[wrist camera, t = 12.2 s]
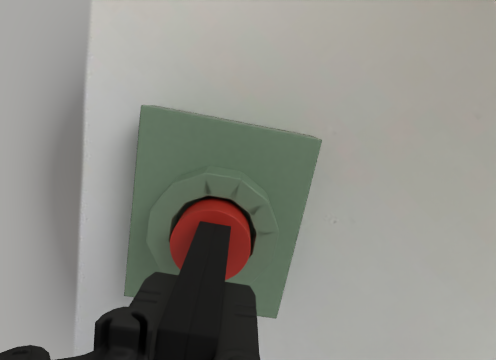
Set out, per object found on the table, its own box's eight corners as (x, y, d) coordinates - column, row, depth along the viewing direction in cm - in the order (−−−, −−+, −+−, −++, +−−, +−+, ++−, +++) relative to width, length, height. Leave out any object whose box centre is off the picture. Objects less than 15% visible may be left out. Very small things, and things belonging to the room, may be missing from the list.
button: (182, 192, 15) (174, 203, 13) (256, 204, 15) (257, 217, 13) (173, 258, 16) (165, 276, 14) (242, 269, 16) (242, 288, 14)
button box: (153, 105, 17) (126, 104, 13) (312, 136, 17) (332, 144, 13) (136, 275, 20) (110, 316, 16) (273, 296, 20) (279, 341, 16)
